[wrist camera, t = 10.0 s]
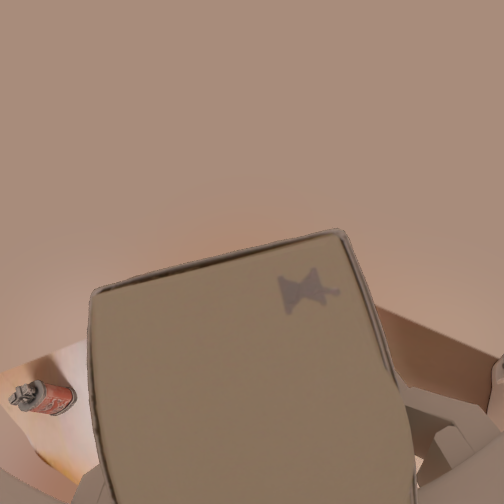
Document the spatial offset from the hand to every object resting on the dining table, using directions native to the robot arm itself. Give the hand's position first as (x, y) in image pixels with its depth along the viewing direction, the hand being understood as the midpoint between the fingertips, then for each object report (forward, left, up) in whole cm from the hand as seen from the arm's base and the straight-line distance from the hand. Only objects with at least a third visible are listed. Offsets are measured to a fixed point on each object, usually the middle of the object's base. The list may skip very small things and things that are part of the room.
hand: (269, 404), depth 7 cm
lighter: (+32, -13, -25) cm, 42 cm away
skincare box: (0, +1, -7) cm, 7 cm away
